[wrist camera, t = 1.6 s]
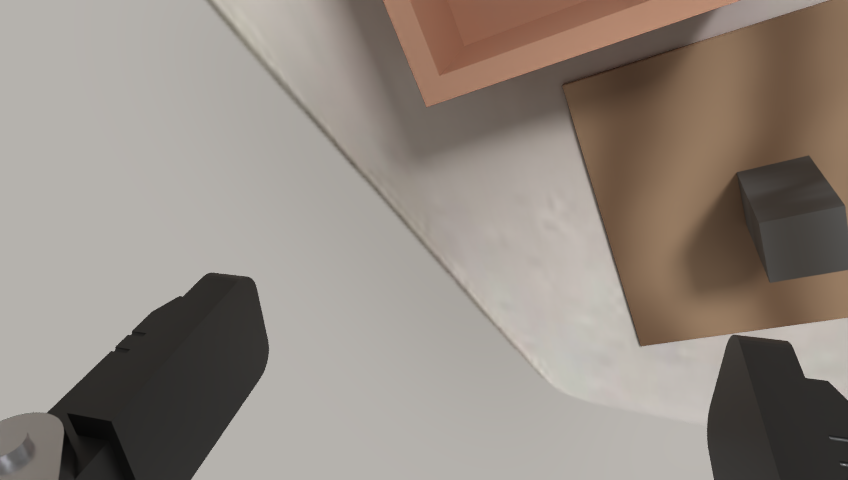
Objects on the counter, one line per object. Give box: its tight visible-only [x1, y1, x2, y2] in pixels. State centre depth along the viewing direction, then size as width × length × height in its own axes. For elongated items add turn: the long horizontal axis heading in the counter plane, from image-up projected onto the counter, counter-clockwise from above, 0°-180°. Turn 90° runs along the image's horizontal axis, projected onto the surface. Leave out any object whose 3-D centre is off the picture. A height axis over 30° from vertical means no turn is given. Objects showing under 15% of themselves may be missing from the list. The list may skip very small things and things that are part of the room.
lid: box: [563, 0, 848, 346], centre depth 27 cm, size 16×16×6 cm
